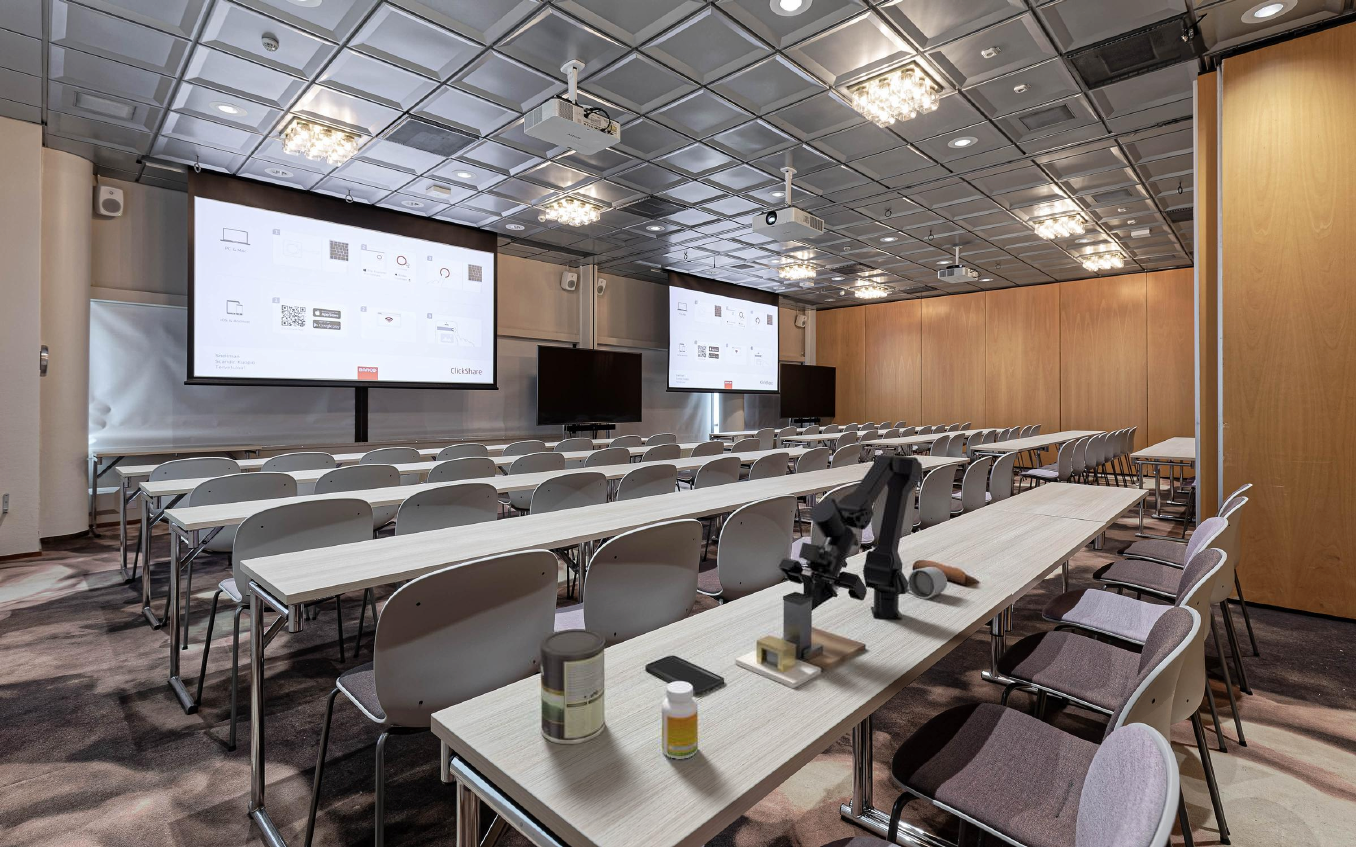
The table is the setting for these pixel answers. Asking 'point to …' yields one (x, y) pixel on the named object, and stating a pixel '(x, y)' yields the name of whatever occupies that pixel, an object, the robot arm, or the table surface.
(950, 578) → the orange brown tapered rod
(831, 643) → the door leaf
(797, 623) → the dark square pillar
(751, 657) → the jamb plate
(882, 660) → the table surface
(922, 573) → the ceramic mug
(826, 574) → the robot arm
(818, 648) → the guide rails
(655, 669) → the phone
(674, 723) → the supplement bottle
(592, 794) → the table surface
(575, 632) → the coffee can
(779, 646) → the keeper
